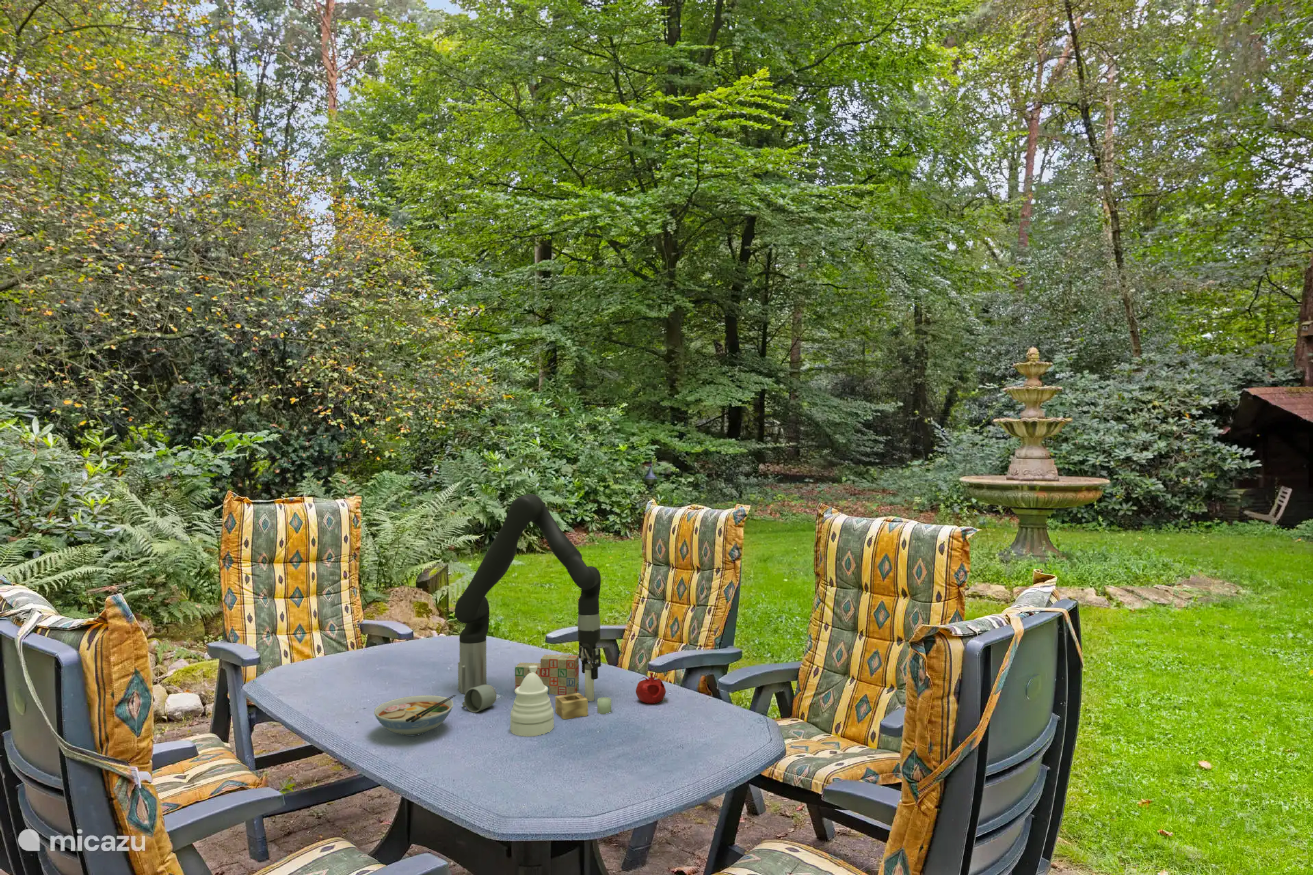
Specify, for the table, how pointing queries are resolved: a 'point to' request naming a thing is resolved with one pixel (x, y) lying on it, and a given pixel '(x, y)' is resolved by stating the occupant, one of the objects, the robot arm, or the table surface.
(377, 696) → the table surface
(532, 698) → the honey pot
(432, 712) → the ramen bowl
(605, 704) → the bead
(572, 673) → the stack of blocks
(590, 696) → the cream capped cylinder
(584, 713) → the bead block
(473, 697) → the ceramic mug
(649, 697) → the pomegranate
